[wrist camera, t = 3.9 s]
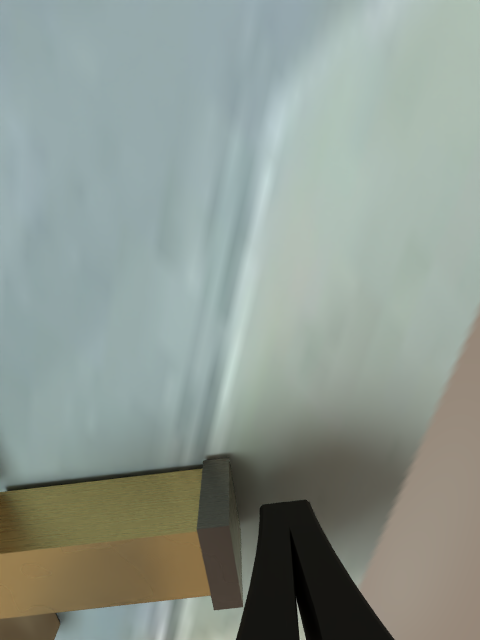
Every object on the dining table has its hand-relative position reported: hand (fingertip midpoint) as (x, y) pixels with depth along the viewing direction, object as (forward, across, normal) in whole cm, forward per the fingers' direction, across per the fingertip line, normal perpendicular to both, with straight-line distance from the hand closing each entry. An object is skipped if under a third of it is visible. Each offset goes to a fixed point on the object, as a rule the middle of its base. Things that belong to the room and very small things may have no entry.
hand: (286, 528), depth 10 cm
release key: (+1, +5, 0) cm, 5 cm away
